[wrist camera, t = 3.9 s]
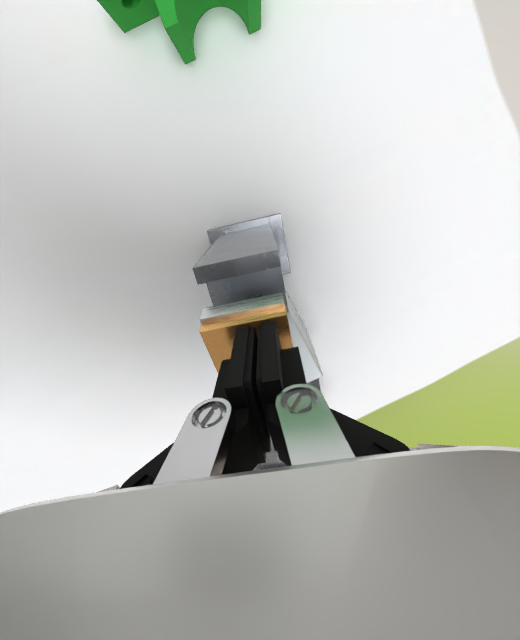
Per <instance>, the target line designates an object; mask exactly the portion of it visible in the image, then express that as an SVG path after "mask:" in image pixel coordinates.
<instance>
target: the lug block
mask: <svg viewBox="0 0 520 640" xmlns="http://www.w3.org/2000/svg"><path fill="white" fill-rule="evenodd" d="M207 232H208V236H209V239H210V243H211V247H210V248H209V249H208V250H207V252H206V253H205V254H204V255H203V256H202V258H201V259H200V260H199V261H198V262H197V264H196V265H195V266H194V267H193V271H194V274H195V277H196V280H197V283H198V284H203V283H206V284H207V287H208V290H209V294H210V297H211V300H212V303H213V306H218V305H223V304H228V303H233V302H238V301H242V300H247V299H252V298H257V297H262V296H267V295H272V294H277V293H281V292H282V294H283V298H284V303H285V308H286V312H289V310H288V305H287V299H286V294H285V288H284V283H283V278H282V274H286V273H291V272H290V266H289V260H288V255H287V249H286V243H285V237H284V231H283V225H282V219H281V214H275V215H271V216H267V217H262V218H258V219H254V220H250V221H245V222H241V223H237V224H232V225H228V226H224V227H219V228H215V229H211V230H208V231H207Z"/></svg>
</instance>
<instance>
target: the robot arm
mask: <svg viewBox="0 0 520 640" xmlns="http://www.w3.org/2000/svg"><path fill="white" fill-rule="evenodd" d="M270 436H271V438H270ZM271 440H272V443H273V447H274V450H275V451H277V453H278V457H279V459H280V460H281V461H282V462H284V463H285V464H286V465H288V466H284V467H276V468H269V469H261V470H254V471H253V469H254V468H255V467H256V466H257V465H258V464H261V463H266V452H271ZM0 640H520V448H516V447H502V446H445V445H429V444H418V448H408V447H407V446H406V445H405V444H403V443H402V442H400V441H398V440H397V439H395V438H392V437H390V436H388V435H386V434H384V433H382V432H380V431H378V430H375V429H373V428H371V427H369V426H367V425H365V424H362V423H360V422H358V421H356V420H354V419H352V418H350V417H347V416H345V415H343V414H341V413H339V412H337V411H335V410H332V409H330V408H329V406H328V405H327V403H326V401H325V399H324V397H323V395H322V393H321V392H320V391H319V390H318V389H317V388H315V387H314V386H311V385H308V384H307V383H306V378H305V374H304V370H303V365H302V361H301V356H300V352H299V348H298V347H292V348H287V349H281V345H280V340H279V336H278V331H277V327H276V323H275V321H269V322H264V323H262V326H261V327H258V338H257V334H256V330H255V328H251V329H250V327H249V326H243V327H238V328H236V332H235V337H234V342H233V348H232V353H231V358H230V359H226V360H222V362H221V366H220V370H219V374H218V378H217V382H216V386H215V390H214V394H213V398H211V399H208V400H205V401H203V402H201V403H199V404H198V405H196V406H195V407H194V408H193V409H192V410H191V412H190V413H189V415H188V417H187V419H186V421H185V422H184V424H183V426H182V428H181V430H180V432H179V434H178V436H177V438H176V440H175V442H174V443H173V444H171V445H170V446H169V447H168V448H166V449H165V450H164V451H163V452H161V453H160V454H159V455H157V456H156V457H155V458H154V459H152V460H151V461H150V462H149V463H147V464H146V465H145V466H144V467H142V468H141V469H140V470H138V471H137V472H136V473H135V474H133V475H132V476H131V477H130V478H129V479H128V480H127V481H126V482H125V483H124V484H123V485H122V486H121V488H119V486H118V485H116V486H113V487H110V488H107V489H105V490H102V491H99V492H96V493H90V494H83V495H77V496H71V497H65V498H59V499H54V500H49V501H43V502H38V503H33V504H29V505H25V506H21V507H17V508H13V509H10V510H7V511H4V512H1V513H0Z"/></svg>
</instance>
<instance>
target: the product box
mask: <svg viewBox="0 0 520 640" xmlns="http://www.w3.org/2000/svg"><path fill="white" fill-rule="evenodd" d="M285 294H286V299H287V305H288V310H289V312H287V317H288V323H289V328H290V333H291V339H292V344H293V347H298V348H299V352H300V356H301V361H302V365H303V370H304V374H305V378H306V383H308V382H311V381H313V380H316V379H318V378H321V377H322V376H323V375H322V372H321V369H320V366H319V363H318V360H317V357H316V354H315V351H314V348H313V345H312V343H311V340H310V337H309V335H308V332H307V330H306V328H305V326H304V324H303V322H302V320H301V319H300V317H299V315H298V313H297V311H296V310H295V308H294V306H293V304H292V302H291V300H290V299H289V297H288V295H287V293H286V291H285Z"/></svg>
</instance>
